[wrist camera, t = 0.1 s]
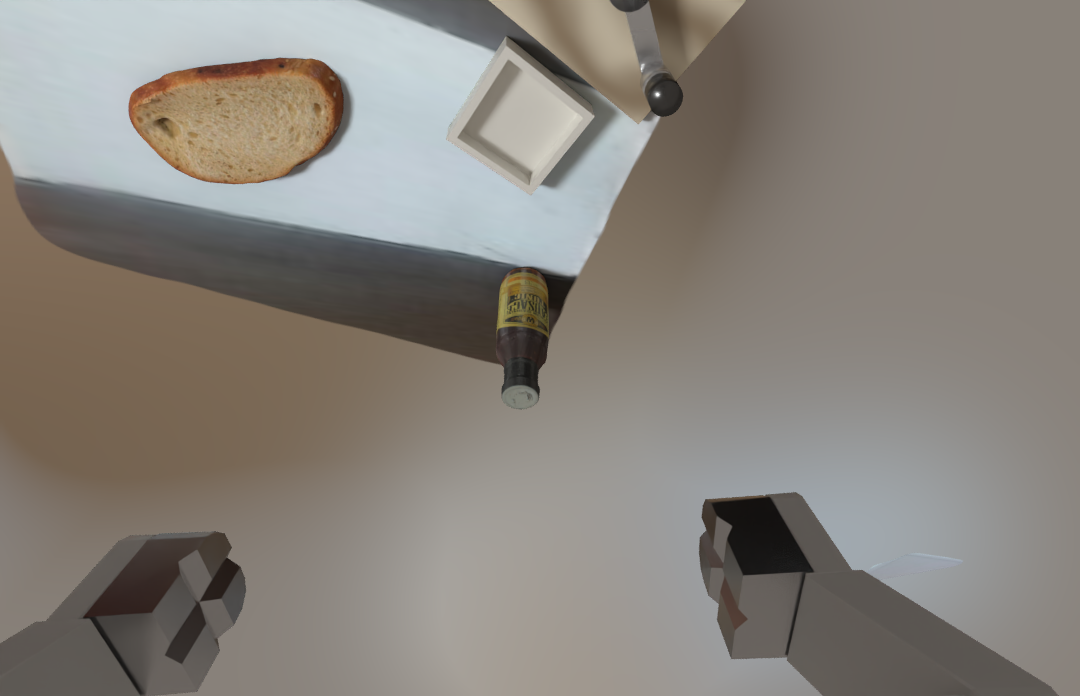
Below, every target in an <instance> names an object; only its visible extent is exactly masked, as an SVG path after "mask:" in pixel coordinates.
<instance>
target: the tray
mask: <svg viewBox="0 0 1080 696" xmlns="http://www.w3.org/2000/svg"><path fill="white" fill-rule="evenodd" d="M594 117H595V115H594V112H593V108H592V105H591V104H590V103H589V102H588V101H586V100H585V99H584V98H583V97H581V96H580V95H579V94H578V93H577V92H575V91H574V90H573V89H572V88H570V87H569V86H568V85H567V84H565V83H564V82H563V81H562V80H560V79H559V78H558V77H557V76H555V75H554V74H553V73H552V72H551V71H549V70H548V69H547V68H546V67H544V66H543V65H542V64H541V63H539V62H538V61H537V60H536V59H534V58H533V57H532V56H531V55H530V54H528V53H527V52H526V51H525V50H523V49H522V48H521V47H520V46H518V45H517V44H516V43H515V42H513V41H512V40H511V39H510V38H508V37H507V36H506V37H505V39H504V40H503V42H502V43H501V45H500V46H499V48H498V50H497V51H496V53H495V54H494V56H493V58H492V59H491V61H490V62H489V64H488V65H487V67H486V69H485V70H484V72H483V73H482V75H481V77H480V78H479V80H478V81H477V83H476V84H475V86H474V88H473V89H472V91H471V92H470V94H469V96H468V97H467V99H466V100H465V102H464V103H463V105H462V107H461V108H460V110H459V111H458V113H457V115H456V116H455V118H454V119H453V121H452V122H451V124H450V126H449V128H448V133H447V138H446V140H448V141H449V142H451V143H452V144H454V145H455V146H457V147H458V148H460V149H461V150H463V151H464V152H466V153H467V154H469V155H470V156H472V157H473V158H475V159H477V160H478V161H480V162H481V163H483V164H484V165H486V166H487V167H489V168H490V169H492V170H493V171H495V172H496V173H498V174H499V175H501V176H502V177H504V178H505V179H507V180H508V181H510V182H511V183H513V184H514V185H516V186H517V187H519V188H520V189H522V190H523V191H525V192H526V193H528V194H529V195H532V194H533V192H534V191H535V190H536V189H537V187H538V186H539V185H540V184H541V183H542V181H543V180H544V179H545V178H546V176H547V175H548V174H549V173H550V171H551V170H552V169H553V168H554V166H555V165H556V164H557V163H558V161H559V160H560V159H561V158H562V157H563V155H564V154H565V153H566V152H567V150H568V149H569V148H570V147H571V145H572V144H573V143H574V142H575V140H576V139H577V138H578V137H579V135H580V134H581V133H582V132H583V130H584V129H585V128H586V127H587V126H588V124H589V123H590V122H591V121H592V119H593V118H594Z"/></svg>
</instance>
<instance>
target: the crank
mask: <svg viewBox="0 0 1080 696" xmlns="http://www.w3.org/2000/svg"><path fill="white" fill-rule="evenodd" d="M610 2H611V3H612V5H613V6H614V7H615V8H617V9H618V10H620V11H623V12H624V13H625V17H626V20H627V24H628V28H629V31H630V35H631V39H632V43H633V46H634V50H635V54H636V57H637V61H638V65H639V69H640V72H641V78H640V86H641V89H642V91H643V93H644V95H645V97H646V99H647V101H648V104H649V106H650V108H651V110H652V111H653V113H655V114H656V115H658V116H662V117H664V116H669V115H671V114H673V113H675V112H676V111H677V110H678V109H679V107H680V105H681V103H682V99H683V93H682V90H681V88H680V87H679V85H678V83H677V82H676V80H675V78H674V77H673V75H672V73H671V72H670V70H669V69H668V67H667V66H665V65H664V64H663V60H662V55H661V51H660V47H659V43H658V38H657V34H656V30H655V26H654V22H653V17H652V13H651V9H650V5H649V0H610Z"/></svg>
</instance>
